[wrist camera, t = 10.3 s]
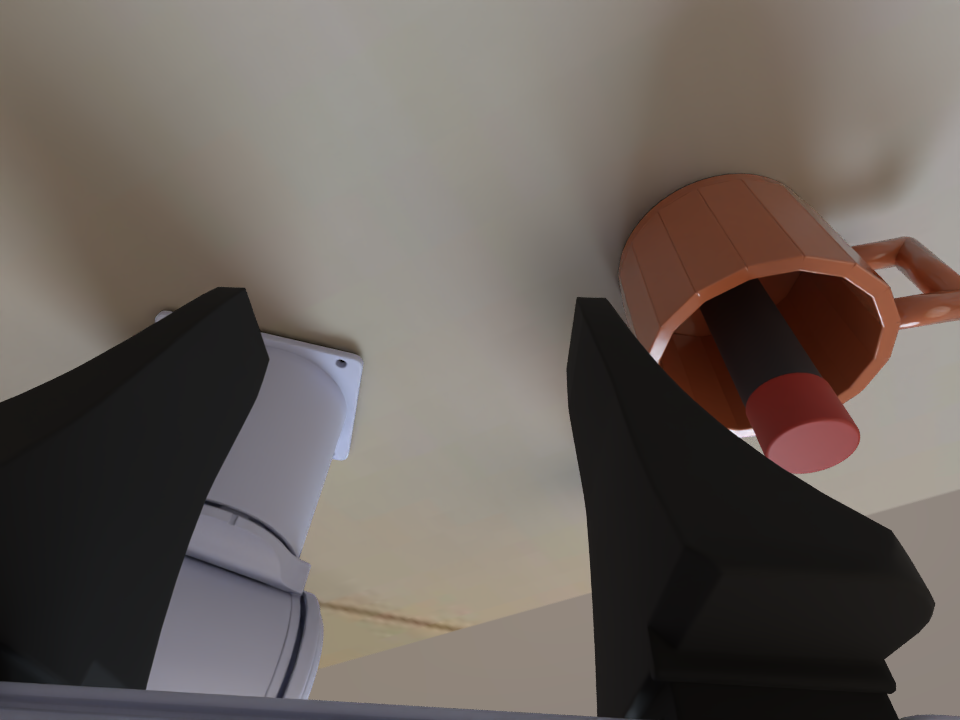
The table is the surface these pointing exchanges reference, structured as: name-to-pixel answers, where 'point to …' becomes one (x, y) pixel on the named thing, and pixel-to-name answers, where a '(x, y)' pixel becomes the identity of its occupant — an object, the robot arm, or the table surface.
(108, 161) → the table surface
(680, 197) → the orange coffee mug
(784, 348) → the marker
